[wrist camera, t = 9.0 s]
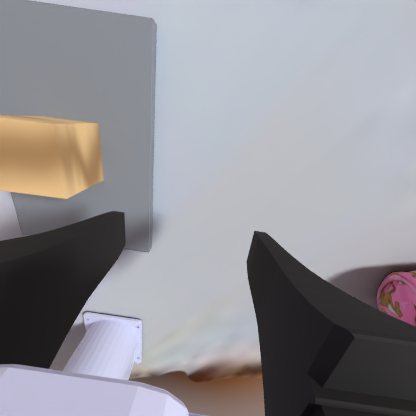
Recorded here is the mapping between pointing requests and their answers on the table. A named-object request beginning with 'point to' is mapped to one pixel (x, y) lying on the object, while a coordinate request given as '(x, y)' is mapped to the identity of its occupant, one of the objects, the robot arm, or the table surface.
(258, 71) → the table surface
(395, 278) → the pencil case
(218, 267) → the table surface
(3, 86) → the mat
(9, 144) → the ochre cube
